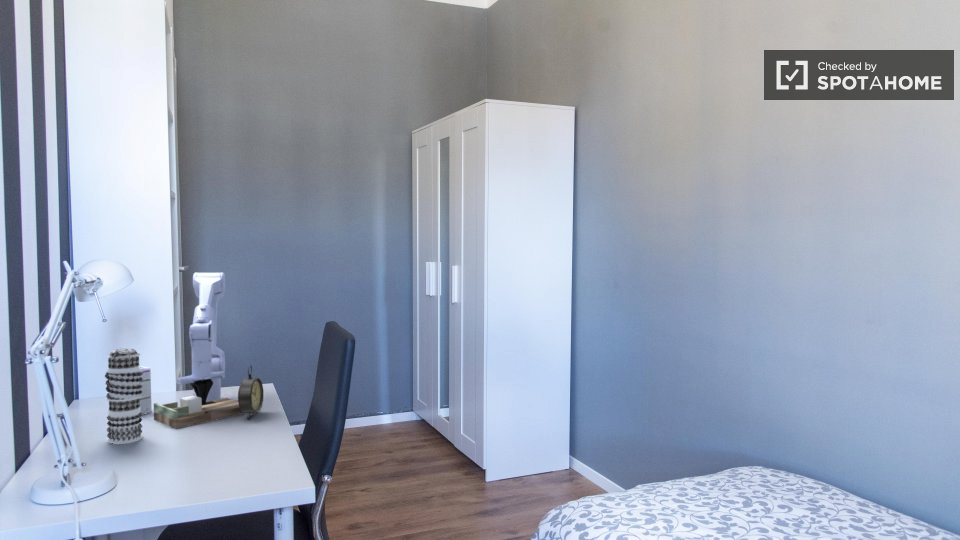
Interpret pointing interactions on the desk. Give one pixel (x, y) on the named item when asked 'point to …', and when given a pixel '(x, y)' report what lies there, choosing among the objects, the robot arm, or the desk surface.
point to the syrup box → (145, 390)
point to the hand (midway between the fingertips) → (202, 404)
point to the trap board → (182, 417)
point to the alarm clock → (250, 395)
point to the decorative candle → (124, 396)
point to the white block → (192, 403)
